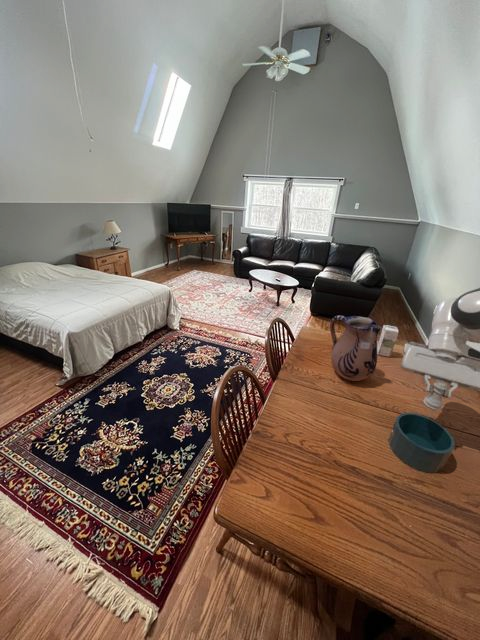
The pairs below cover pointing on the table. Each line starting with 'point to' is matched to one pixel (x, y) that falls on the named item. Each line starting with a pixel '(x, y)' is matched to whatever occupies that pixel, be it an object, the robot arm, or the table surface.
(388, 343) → the syrup box
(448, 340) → the robot arm
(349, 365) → the ceramic pitcher
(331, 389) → the table surface
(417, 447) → the pot
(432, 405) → the rook chess piece
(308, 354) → the table surface
